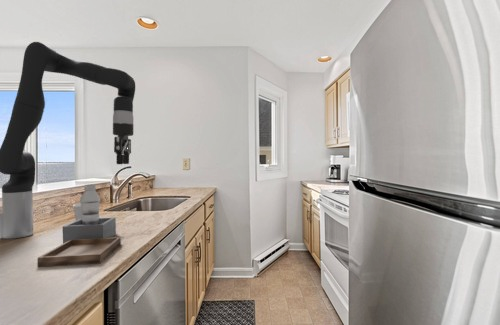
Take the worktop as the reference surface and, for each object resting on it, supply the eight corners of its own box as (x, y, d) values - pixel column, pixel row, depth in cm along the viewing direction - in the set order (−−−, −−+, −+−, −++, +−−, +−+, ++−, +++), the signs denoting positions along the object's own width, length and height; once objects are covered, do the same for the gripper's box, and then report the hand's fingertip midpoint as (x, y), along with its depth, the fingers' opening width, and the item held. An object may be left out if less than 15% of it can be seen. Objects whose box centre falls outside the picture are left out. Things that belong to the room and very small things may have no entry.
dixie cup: (98, 225, 127) (98, 203, 127) (79, 229, 120) (78, 206, 120) (88, 223, 131) (88, 202, 131) (69, 227, 124) (68, 204, 124)
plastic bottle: (105, 237, 106) (104, 184, 106) (88, 242, 100) (87, 185, 100) (93, 236, 109) (92, 183, 109) (76, 240, 103) (75, 185, 103)
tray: (37, 267, 77) (37, 257, 77) (70, 247, 95) (70, 239, 95) (100, 263, 79) (100, 254, 79) (120, 244, 97) (120, 237, 97)
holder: (62, 245, 97) (62, 226, 97) (80, 235, 110) (80, 218, 110) (103, 243, 99) (102, 224, 99) (115, 234, 112) (115, 217, 112)
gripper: (118, 125, 120) (118, 163, 120) (107, 120, 106) (106, 164, 106) (137, 125, 121) (137, 164, 121) (128, 121, 107) (128, 164, 107)
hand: (123, 164), depth 113 cm, fingers open, 8 cm apart
